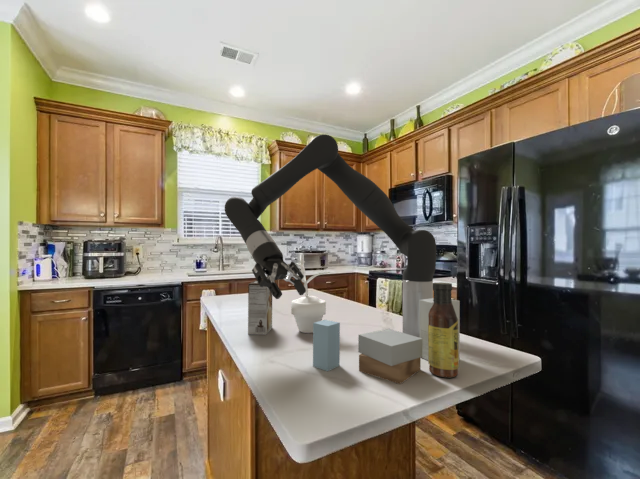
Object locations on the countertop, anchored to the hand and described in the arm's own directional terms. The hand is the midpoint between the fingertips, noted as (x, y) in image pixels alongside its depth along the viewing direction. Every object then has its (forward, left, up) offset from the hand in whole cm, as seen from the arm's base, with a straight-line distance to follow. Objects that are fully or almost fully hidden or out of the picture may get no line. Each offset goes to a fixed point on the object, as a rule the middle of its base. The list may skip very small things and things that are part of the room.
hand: (291, 295), depth 80 cm
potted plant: (-13, -18, -15) cm, 27 cm away
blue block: (-5, +11, -15) cm, 19 cm away
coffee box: (+2, -25, -15) cm, 30 cm away
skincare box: (-33, +18, -15) cm, 40 cm away
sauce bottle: (-27, +25, -15) cm, 40 cm away
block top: (-17, +19, -12) cm, 28 cm away
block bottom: (-17, +19, -16) cm, 30 cm away
